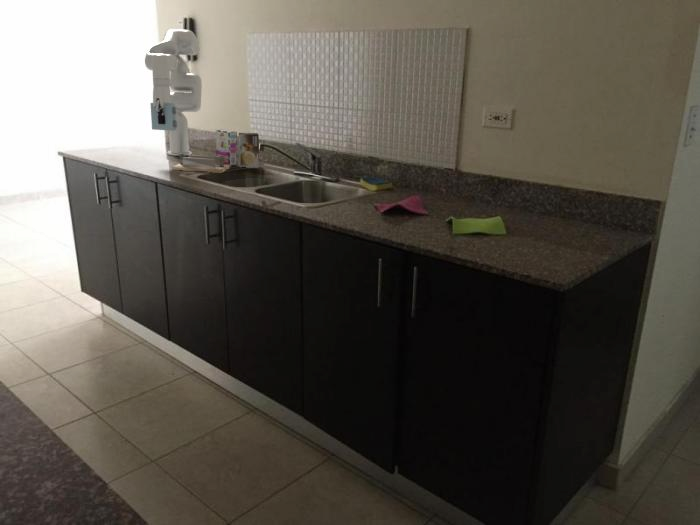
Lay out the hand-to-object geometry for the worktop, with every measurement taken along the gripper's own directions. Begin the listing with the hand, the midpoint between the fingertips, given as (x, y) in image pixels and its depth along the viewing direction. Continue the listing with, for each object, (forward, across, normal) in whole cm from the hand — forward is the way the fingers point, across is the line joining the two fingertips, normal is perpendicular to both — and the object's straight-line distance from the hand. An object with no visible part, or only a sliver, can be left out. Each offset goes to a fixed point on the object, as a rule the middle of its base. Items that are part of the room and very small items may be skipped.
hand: (163, 123), depth 276 cm
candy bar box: (+20, -12, +26) cm, 35 cm away
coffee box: (+20, -9, +38) cm, 44 cm away
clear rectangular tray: (+19, +5, +20) cm, 28 cm away
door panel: (+3, 0, 0) cm, 3 cm away
